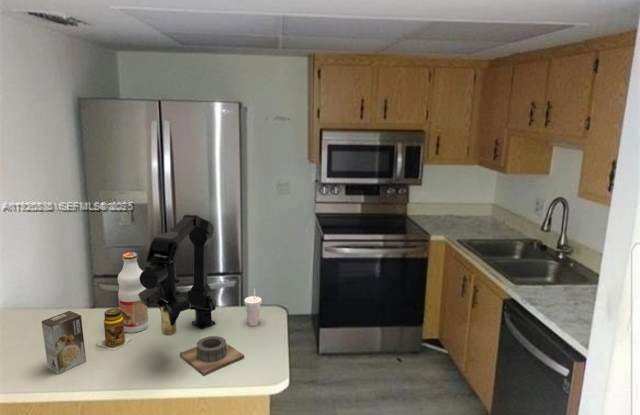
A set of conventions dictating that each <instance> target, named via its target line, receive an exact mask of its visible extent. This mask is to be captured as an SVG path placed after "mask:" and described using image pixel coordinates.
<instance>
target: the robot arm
mask: <svg viewBox="0 0 640 415" xmlns="http://www.w3.org/2000/svg"><path fill="white" fill-rule="evenodd" d="M214 230H215V228H214V224H213V223H211V221H209V220H206V219H205V218H203V217H201V216H199V215H197V214H184V215H183V216H182V219H181V220H179V222H178V223H176V224H175V225H174V226H173V227H172V228H171V229H170V230H169V231H168V232H167V231H166V232H164V233H160V234H158V235H157V236H155V237H154V238H153V239H152V241H151V243H150V245H149V249H148V253H147V256H146V260H145V261H146V263H149V264H147V265H145V267H144V268H145V270H142V271H143V272H142V273H141V275H140V277H139V279H140V283H141V284H142V286H144V287H145V288H146V289H145V290H143V291H142V292H140V293H139V294H138V296H139V298H140V300H141V301H142V303H143V304H144V305H146V306H147V308H149V307H151V306H153V305H155V304H157V306H158V308H159V310H160V312H161V305H163V304H166V303H167V304H166V307H165V308H163V309H165V310H166V311H167V312H168V315H169V320H170V324H171V326H172V325H174V324H175V322H176V323H177V320H178V318H179V316H180V313H182V312H184V311H188V310H193V311H194V318H195V319H194V320H193V321H191V324H192V325H193V326H195V327H196V328H198V329H200V330H201V329H205V328H207V327H210V326H213V325H216V321H214V320H212V319H213V317H212V315H213V314H212V312H213V311H216V308H217V300H216V299H215V297H213V292H212V288H211V286H210V284H208V244H209V243H210V241H211V240H212V238H213V233H214ZM187 237H188V239H189V241H190V242H191V243H192V245H193V285H192V286H191V288H190V289H189V290H188V292H187V295H188V296H187V298H185V297H184V296H180V291H179V290H178V283H180V279H179V278H178V277H177V266H176V264H177V263H176V260H177V259H178V258H179V256H178V253H179V251H180V250H181V246H180V244H181V243H182V241H183V240H184V239H185V238H187ZM177 296H180V297H177Z"/></svg>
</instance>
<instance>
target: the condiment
mask: <svg viewBox="0 0 640 415" xmlns="http://www.w3.org/2000/svg"><path fill="white" fill-rule="evenodd" d="M103 314H104V319H103V325H104V338H105V339H103V340H101V341H100V342H99V343H97V344H96V346H97V347H102V348H106V349H110V350H115V351H116V350H118V349H119V348H121V347H123V346H124V345H126V344H128V342H130V341H131V339H132V338H126V336H125V335H126V334H125V333H126V332H124V321H123V317H122V314H121V310H120V309H119V307H118V308H117V307H116V308H115V307H114V308H109V309H106V310H105V311H104V313H103Z"/></svg>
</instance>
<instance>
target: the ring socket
mask: <svg viewBox="0 0 640 415" xmlns="http://www.w3.org/2000/svg"><path fill="white" fill-rule="evenodd" d="M179 357H180V358H182V359H183V360H184V361H185V362H186V363H188V364H189V365H190V366H191V367H192V368H194V369H195V370H196V371H197V372H199V373H200V374H201V375H203V376H206V375H209V374H211V373H213V372H215V371H218V370H220V369H223V368H225V367H228V366H229V365H232V364H234V363H237V362H239V361H240V360H244V359H245V354H243V353H241V352H240V351H239V350H237V349H236V348H235V347H233V346H232V345H230V344H229V343H227V341H226V339H225V338H224V337H223V336H217V335H211V336H210V335H209V336H205V337H202V338H201V339H199V340H198V341H197V342H196V346H194V347H191V348H189V349H186V350H185V351H181V352H179Z"/></svg>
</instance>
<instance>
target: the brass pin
mask: <svg viewBox="0 0 640 415" xmlns="http://www.w3.org/2000/svg"><path fill="white" fill-rule="evenodd" d="M166 304H167V303H166ZM166 304H163V305H161V311H160V318H161V334H162V335H163V336H168V337H169V336H174V335H175V334H177V332H178V331H177V321H176V322H175V324H174V325H172V326H171V324H170V320H169V315H168V312H167V311H166V310H165V309H163V308H165V307H166Z"/></svg>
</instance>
